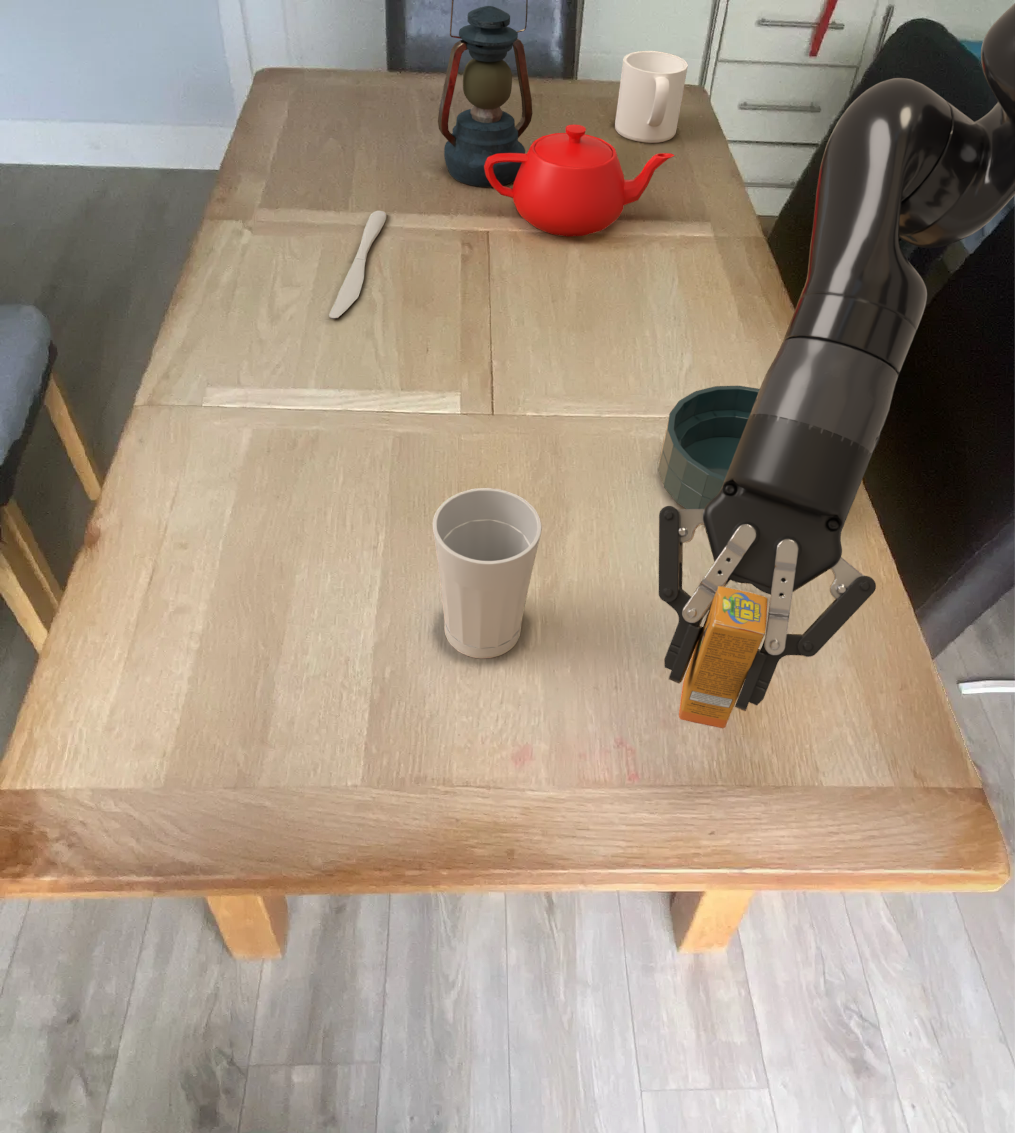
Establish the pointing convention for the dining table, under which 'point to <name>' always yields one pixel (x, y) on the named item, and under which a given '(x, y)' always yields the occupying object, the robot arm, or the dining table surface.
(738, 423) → the bowl
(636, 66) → the mug
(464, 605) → the cup
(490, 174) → the teapot
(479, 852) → the dining table surface
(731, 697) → the supplement box
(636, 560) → the dining table surface
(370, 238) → the butter knife
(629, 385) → the dining table surface
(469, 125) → the lantern
